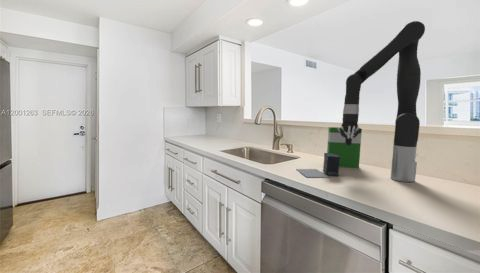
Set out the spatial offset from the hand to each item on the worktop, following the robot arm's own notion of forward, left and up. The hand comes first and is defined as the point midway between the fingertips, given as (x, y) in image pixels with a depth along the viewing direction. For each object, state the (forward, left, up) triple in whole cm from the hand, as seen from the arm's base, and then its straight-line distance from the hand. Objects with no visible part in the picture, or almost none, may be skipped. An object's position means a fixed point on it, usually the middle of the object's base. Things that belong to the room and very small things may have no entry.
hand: (348, 145), depth 121 cm
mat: (+19, 0, -16) cm, 25 cm away
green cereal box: (-8, -19, -16) cm, 26 cm away
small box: (+9, 0, -16) cm, 18 cm away
